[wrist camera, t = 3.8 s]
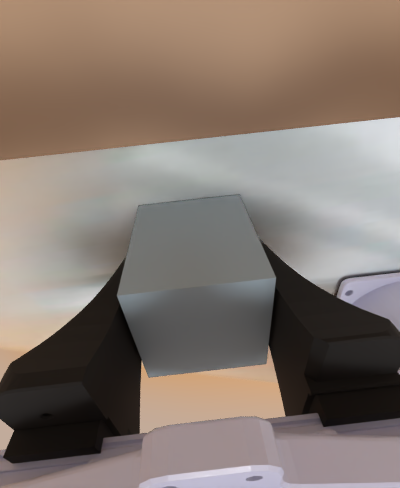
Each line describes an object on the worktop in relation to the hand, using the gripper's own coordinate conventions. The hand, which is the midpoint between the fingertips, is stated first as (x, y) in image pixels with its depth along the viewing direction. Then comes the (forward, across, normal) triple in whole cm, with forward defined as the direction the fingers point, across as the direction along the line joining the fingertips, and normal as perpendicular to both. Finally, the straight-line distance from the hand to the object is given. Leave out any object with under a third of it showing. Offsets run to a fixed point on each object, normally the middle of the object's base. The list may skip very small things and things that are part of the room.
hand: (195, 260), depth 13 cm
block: (+2, 0, 0) cm, 2 cm away
